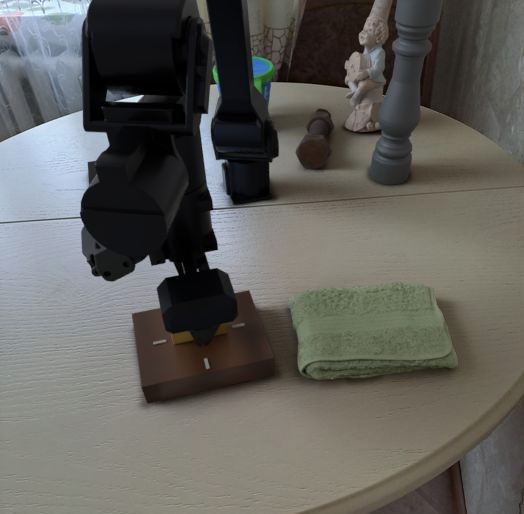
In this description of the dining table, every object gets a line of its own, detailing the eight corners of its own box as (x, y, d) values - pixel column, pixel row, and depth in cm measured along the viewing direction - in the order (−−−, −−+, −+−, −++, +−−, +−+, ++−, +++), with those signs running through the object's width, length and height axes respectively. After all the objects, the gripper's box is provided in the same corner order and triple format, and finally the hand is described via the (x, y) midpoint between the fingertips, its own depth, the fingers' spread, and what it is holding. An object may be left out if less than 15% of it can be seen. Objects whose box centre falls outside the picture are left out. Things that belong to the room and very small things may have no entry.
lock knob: (224, 323, 56) (221, 296, 53) (227, 333, 55) (224, 305, 52) (171, 334, 55) (164, 307, 52) (173, 344, 54) (166, 317, 51)
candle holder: (365, 180, 80) (391, -6, 61) (374, 161, 84) (402, -19, 65) (404, 187, 78) (443, -1, 59) (411, 168, 82) (451, -15, 63)
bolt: (325, 136, 93) (315, 176, 83) (302, 121, 92) (290, 160, 82) (343, 109, 89) (335, 148, 79) (319, 93, 88) (309, 130, 78)
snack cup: (212, 110, 98) (206, 53, 90) (264, 104, 99) (263, 47, 92) (225, 148, 88) (220, 88, 80) (283, 140, 89) (284, 80, 82)
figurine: (373, 111, 96) (391, -14, 81) (398, 129, 91) (422, -1, 76) (333, 121, 94) (343, -6, 79) (356, 140, 89) (372, 8, 73)
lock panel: (250, 307, 62) (249, 288, 59) (274, 375, 55) (274, 356, 53) (137, 330, 60) (131, 312, 57) (147, 404, 53) (140, 386, 50)
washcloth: (461, 374, 54) (469, 355, 52) (299, 387, 54) (300, 368, 51) (425, 292, 63) (431, 272, 60) (286, 303, 62) (286, 283, 60)
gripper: (69, 140, 46) (112, 272, 57) (72, 268, 34) (126, 400, 46) (189, 123, 47) (207, 254, 59) (232, 239, 35) (244, 374, 47)
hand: (195, 313), depth 53 cm, fingers open, 9 cm apart
